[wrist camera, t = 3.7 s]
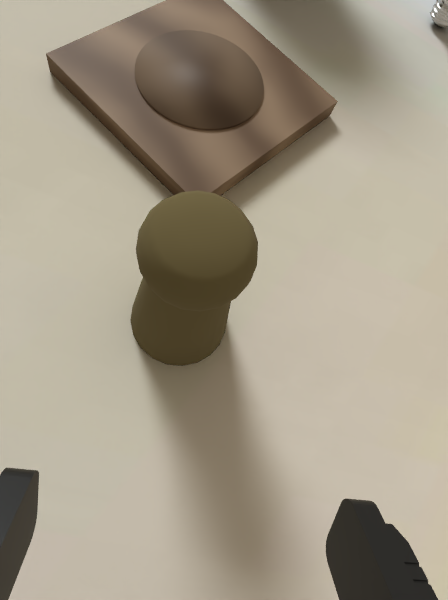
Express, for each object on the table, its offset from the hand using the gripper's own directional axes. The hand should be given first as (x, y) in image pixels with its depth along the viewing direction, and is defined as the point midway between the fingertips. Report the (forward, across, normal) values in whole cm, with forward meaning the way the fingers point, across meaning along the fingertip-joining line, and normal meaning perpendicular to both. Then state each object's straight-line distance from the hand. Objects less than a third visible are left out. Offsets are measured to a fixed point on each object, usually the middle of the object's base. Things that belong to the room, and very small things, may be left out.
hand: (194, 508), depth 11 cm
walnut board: (+29, -2, +12) cm, 32 cm away
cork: (+16, 0, -2) cm, 16 cm away
